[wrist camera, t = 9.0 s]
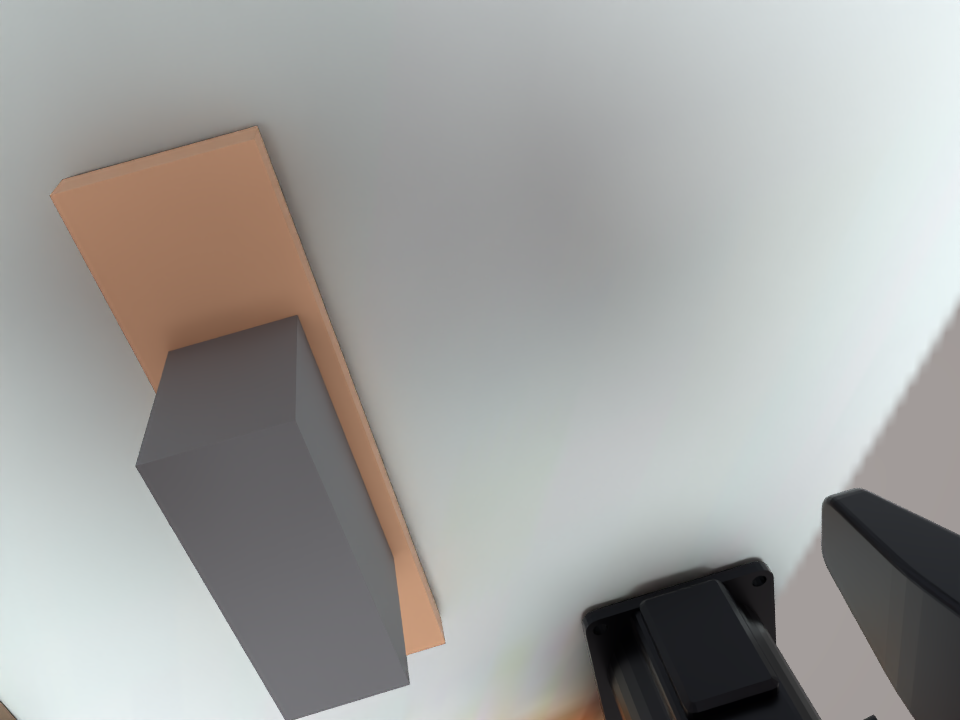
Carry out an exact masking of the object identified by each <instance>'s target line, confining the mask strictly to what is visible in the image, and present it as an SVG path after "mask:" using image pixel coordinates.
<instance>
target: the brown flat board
mask: <svg viewBox="0 0 960 720" xmlns="http://www.w3.org/2000/svg"><path fill="white" fill-rule="evenodd" d="M0 720H16V719H15V718H14V717H13V716H12V714H11V713H10V712H9V711H8V710H7V709H6V708H5V707H4V705H3V704H2V703H1V702H0Z"/></svg>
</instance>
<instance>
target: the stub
mask: <svg viewBox="0 0 960 720" xmlns="http://www.w3.org/2000/svg"><path fill="white" fill-rule="evenodd" d="M50 197H51V199H52V201H53V203H54V205H55V207H56V208H57V210H58V212H59V214H60V216H61V218H62V220H63V222H64V223H65V225H66V227H67V229H68V231H69V233H70V235H71V236H72V238H73V240H74V242H75V244H76V246H77V248H78V249H79V251H80V253H81V255H82V257H83V259H84V261H85V262H86V264H87V266H88V268H89V270H90V272H91V274H92V275H93V277H94V279H95V281H96V283H97V285H98V287H99V288H100V290H101V292H102V294H103V296H104V298H105V300H106V301H107V303H108V305H109V307H110V309H111V311H112V313H113V314H114V316H115V318H116V320H117V322H118V324H119V326H120V327H121V329H122V331H123V333H124V335H125V337H126V339H127V340H128V342H129V344H130V346H131V348H132V350H133V352H134V354H135V355H136V357H137V359H138V361H139V363H140V365H141V367H142V368H143V370H144V372H145V374H146V376H147V378H148V380H149V381H150V383H151V385H152V387H153V389H154V391H155V393H156V396H155V400H154V403H153V407H152V410H151V414H150V417H149V421H148V424H147V428H146V431H145V435H144V438H143V442H142V445H141V449H140V452H139V456H138V459H137V463H136V468H137V470H138V471H139V473H140V475H141V476H142V478H143V480H144V482H145V483H146V485H147V487H148V488H149V490H150V492H151V493H152V495H153V497H154V498H155V500H156V502H157V504H158V505H159V507H160V509H161V510H162V512H163V514H164V515H165V517H166V519H167V520H168V522H169V524H170V526H171V527H172V529H173V531H174V532H175V534H176V536H177V537H178V539H179V541H180V543H181V544H182V546H183V548H184V549H185V551H186V553H187V554H188V556H189V558H190V559H191V561H192V563H193V565H194V566H195V568H196V570H197V571H198V573H199V575H200V576H201V578H202V580H203V582H204V583H205V585H206V587H207V588H208V590H209V592H210V593H211V595H212V597H213V598H214V600H215V602H216V604H217V605H218V607H219V609H220V610H221V612H222V614H223V615H224V617H225V619H226V621H227V622H228V624H229V626H230V627H231V629H232V631H233V632H234V634H235V636H236V637H237V639H238V641H239V643H240V644H241V646H242V648H243V649H244V651H245V653H246V654H247V656H248V658H249V660H250V661H251V663H252V665H253V666H254V668H255V670H256V671H257V673H258V675H259V676H260V678H261V680H262V682H263V683H264V685H265V687H266V688H267V690H268V692H269V693H270V695H271V697H272V698H273V700H274V702H275V704H276V705H277V707H278V709H279V710H280V712H281V714H282V715H283V717H284V719H285V720H295V719H298V718H301V717H305V716H308V715H311V714H314V713H318V712H321V711H324V710H328V709H331V708H334V707H337V706H341V705H344V704H347V703H351V702H354V701H357V700H360V699H364V698H367V697H370V696H374V695H377V694H380V693H383V692H387V691H390V690H393V689H397V688H400V687H403V686H406V685H410V681H409V673H408V666H407V658H406V655H409V654H412V653H416V652H419V651H422V650H425V649H429V648H432V647H435V646H439V645H442V644H445V638H444V633H443V627H442V622H441V617H440V614H439V612H438V609H437V606H436V604H435V601H434V598H433V596H432V593H431V590H430V588H429V585H428V582H427V580H426V577H425V574H424V572H423V569H422V566H421V563H420V561H419V558H418V555H417V553H416V550H415V547H414V545H413V542H412V539H411V537H410V534H409V531H408V529H407V526H406V523H405V521H404V518H403V515H402V513H401V510H400V507H399V504H398V502H397V499H396V496H395V494H394V491H393V488H392V486H391V483H390V480H389V478H388V475H387V472H386V470H385V467H384V464H383V462H382V459H381V456H380V454H379V451H378V448H377V446H376V443H375V440H374V437H373V435H372V432H371V429H370V427H369V424H368V421H367V419H366V416H365V413H364V411H363V408H362V405H361V403H360V400H359V397H358V395H357V392H356V389H355V387H354V384H353V381H352V378H351V376H350V373H349V370H348V368H347V365H346V362H345V360H344V357H343V354H342V352H341V349H340V346H339V344H338V341H337V338H336V336H335V333H334V330H333V328H332V325H331V322H330V319H329V317H328V314H327V311H326V309H325V306H324V303H323V301H322V298H321V295H320V293H319V290H318V287H317V285H316V282H315V279H314V277H313V274H312V271H311V269H310V266H309V263H308V260H307V258H306V255H305V252H304V250H303V247H302V244H301V242H300V239H299V236H298V234H297V231H296V228H295V226H294V223H293V220H292V218H291V215H290V212H289V210H288V207H287V204H286V202H285V199H284V196H283V193H282V191H281V188H280V185H279V183H278V180H277V177H276V175H275V172H274V169H273V167H272V164H271V161H270V159H269V156H268V153H267V151H266V148H265V145H264V143H263V140H262V137H261V134H260V132H259V129H258V126H254V127H251V128H247V129H244V130H240V131H236V132H233V133H229V134H225V135H222V136H218V137H215V138H211V139H207V140H204V141H200V142H196V143H193V144H189V145H186V146H182V147H178V148H175V149H171V150H167V151H164V152H160V153H157V154H153V155H149V156H146V157H142V158H138V159H135V160H131V161H128V162H124V163H120V164H117V165H113V166H110V167H106V168H102V169H99V170H95V171H91V172H88V173H84V174H81V175H77V176H73V177H70V178H66V179H62V180H61V182H60V183H59V184H58V186H57V187H56V188H55V189H54V191H53V192H52V193H51V194H50Z"/></svg>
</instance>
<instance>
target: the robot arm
mask: <svg viewBox="0 0 960 720" xmlns="http://www.w3.org/2000/svg"><path fill="white" fill-rule="evenodd" d="M821 546H822V554H823V558H824V561H825V564H826V566H827V568H828V570H829V572H830V574H831V576H832V578H833V579H834V581H835V583H836V585H837V587H838V588H839V590H840V592H841V594H842V595H843V597H844V599H845V601H846V603H847V604H848V606H849V608H850V610H851V612H852V614H853V615H854V617H855V619H856V621H857V623H858V624H859V626H860V628H861V630H862V632H863V634H864V635H865V637H866V639H867V641H868V643H869V644H870V646H871V648H872V650H873V652H874V653H875V655H876V657H877V659H878V661H879V663H880V664H881V666H882V668H883V670H884V671H885V673H886V675H887V677H888V678H889V680H890V682H891V683H892V685H893V687H894V688H895V690H896V692H897V694H898V695H899V697H900V698H901V700H902V701H903V703H904V704H905V706H906V707H907V709H908V710H909V712H910V713H911V715H912V716H913V717H914V719H915V720H960V535H958V534H956V533H954V532H952V531H950V530H948V529H946V528H944V527H942V526H940V525H938V524H936V523H934V522H932V521H930V520H928V519H925V518H923V517H921V516H919V515H917V514H915V513H913V512H911V511H908V510H907V509H905V508H902V507H901V506H899V505H897V504H895V503H892V502H890V501H888V500H886V499H884V498H882V497H880V496H878V495H876V494H874V493H872V492H870V491H867V490H865V489H860V488H854V489H850V490H847V491H843V492H840V493H837V494H833V495H830V496H828V497H826V498H825V499H824V501H823V503H822V542H821ZM582 625H583V630H584V634H585V638H586V642H587V647H588V651H589V655H590V660H591V664H592V668H593V673H594V677H595V681H596V686H597V690H598V694H599V698H600V703H601V707H602V711H603V716H604V720H821V718H820V717H819V715H818V713H817V712H816V710H815V708H814V707H813V705H812V703H811V702H810V700H809V698H808V697H807V695H806V694H805V692H804V690H803V688H802V687H801V685H800V684H799V682H798V680H797V679H796V677H795V675H794V674H793V672H792V671H791V669H790V667H789V665H788V664H787V662H786V660H785V659H784V657H783V655H782V654H781V652H780V651H779V649H778V647H777V646H776V628H775V601H774V577H773V574H772V572H771V570H770V569H769V567H768V566H767V564H765V563H764V562H760V561H758V562H752V563H749V564H746V565H742V566H739V567H736V568H732V569H729V570H726V571H722V572H719V573H716V574H713V575H709V576H706V577H703V578H699V579H696V580H693V581H689V582H686V583H683V584H680V585H676V586H673V587H670V588H666V589H663V590H660V591H656V592H653V593H650V594H647V595H643V596H640V597H637V598H633V599H630V600H627V601H623V602H620V603H617V604H614V605H610V606H607V607H604V608H600V609H597V610H594V611H592V612H590V613H588V614H587V615H586V616H585V617H584V619H583V621H582ZM864 720H877V718H876V717H875V716H874V715H872V716H870V717H868V718H866V719H864Z"/></svg>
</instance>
